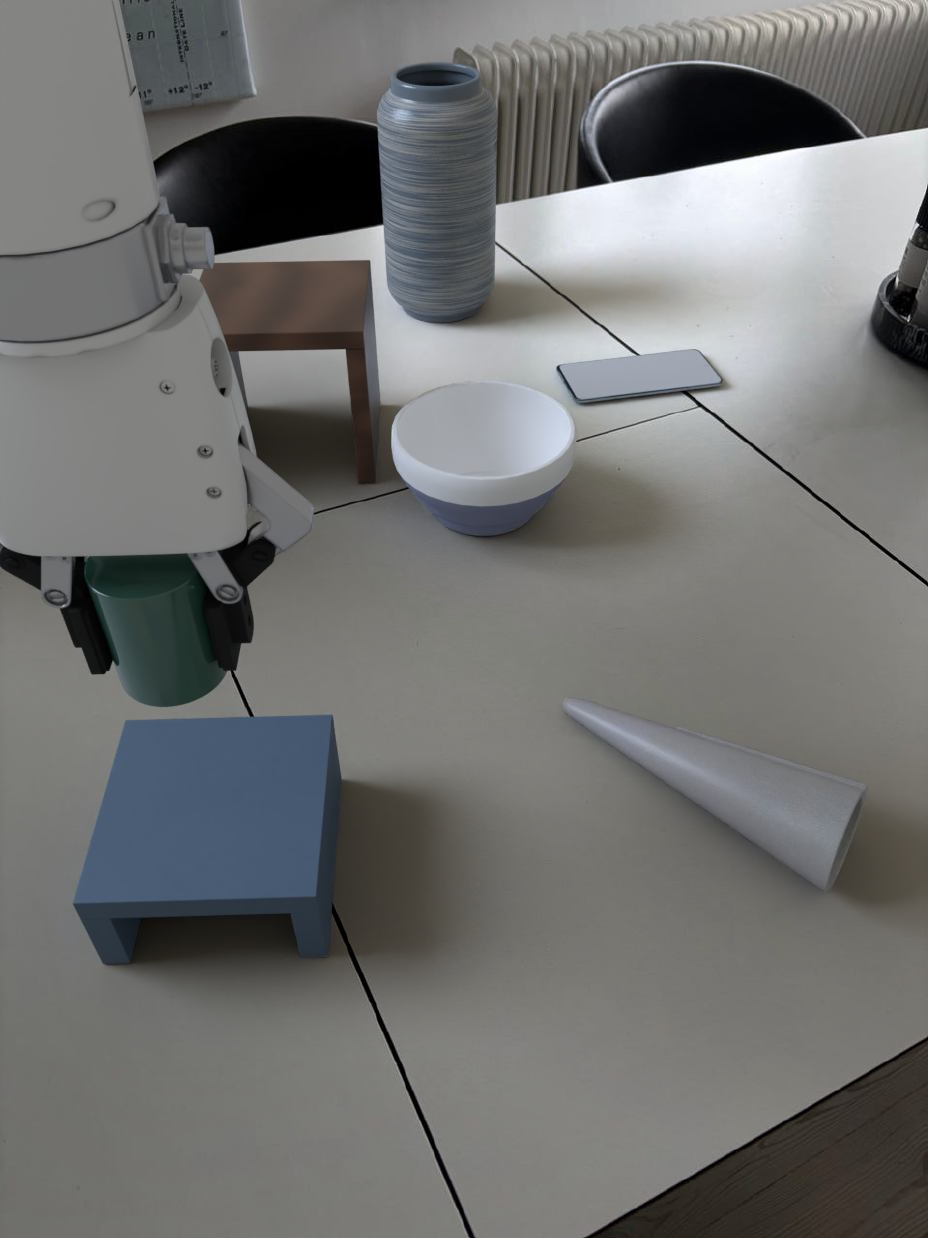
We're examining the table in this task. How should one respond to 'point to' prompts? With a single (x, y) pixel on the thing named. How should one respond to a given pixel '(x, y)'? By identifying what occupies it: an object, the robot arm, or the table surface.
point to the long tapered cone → (743, 788)
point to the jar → (155, 626)
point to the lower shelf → (215, 828)
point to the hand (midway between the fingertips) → (169, 648)
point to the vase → (438, 189)
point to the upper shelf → (306, 326)
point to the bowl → (483, 453)
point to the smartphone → (638, 375)
